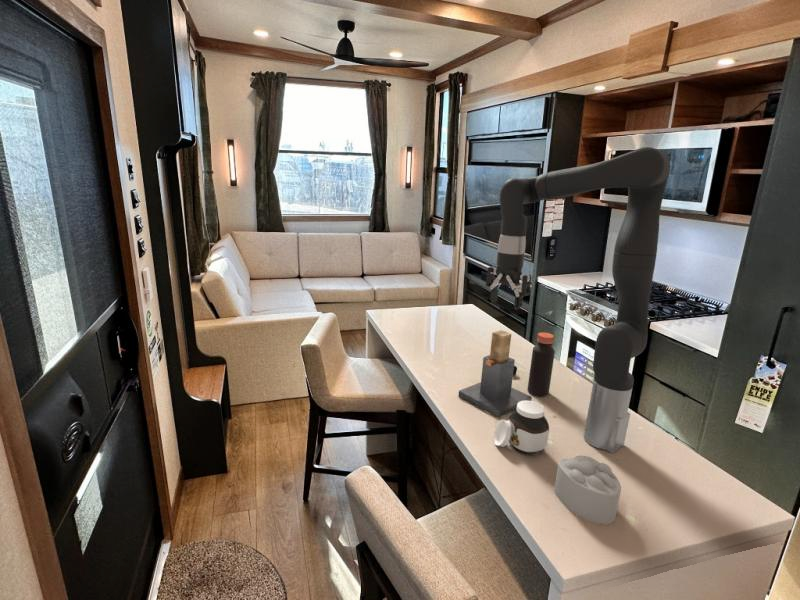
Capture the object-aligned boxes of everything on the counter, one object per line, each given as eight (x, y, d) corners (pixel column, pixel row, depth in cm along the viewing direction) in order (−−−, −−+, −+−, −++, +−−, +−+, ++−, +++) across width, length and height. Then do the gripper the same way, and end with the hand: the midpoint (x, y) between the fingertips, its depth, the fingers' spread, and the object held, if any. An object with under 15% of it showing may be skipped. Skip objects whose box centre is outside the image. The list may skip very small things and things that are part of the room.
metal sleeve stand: (531, 402, 140) (536, 361, 136) (498, 418, 130) (503, 374, 126) (491, 383, 152) (495, 344, 148) (458, 396, 142) (461, 355, 138)
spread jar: (550, 453, 115) (556, 412, 112) (517, 465, 109) (523, 423, 106) (517, 429, 125) (522, 392, 122) (485, 440, 119) (490, 400, 116)
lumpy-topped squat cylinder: (583, 479, 105) (589, 447, 103) (628, 518, 94) (636, 483, 91) (547, 488, 102) (552, 455, 99) (589, 530, 90) (596, 494, 88)
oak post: (504, 394, 140) (511, 333, 135) (496, 397, 138) (503, 336, 132) (494, 389, 143) (500, 330, 138) (486, 392, 141) (492, 332, 135)
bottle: (523, 391, 147) (530, 334, 142) (533, 385, 152) (541, 329, 146) (542, 399, 143) (550, 340, 137) (552, 392, 147) (561, 335, 142)
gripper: (540, 253, 125) (533, 309, 130) (499, 246, 136) (494, 297, 140) (524, 256, 121) (517, 313, 125) (483, 248, 131) (478, 301, 136)
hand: (505, 305), depth 133 cm, fingers open, 8 cm apart
